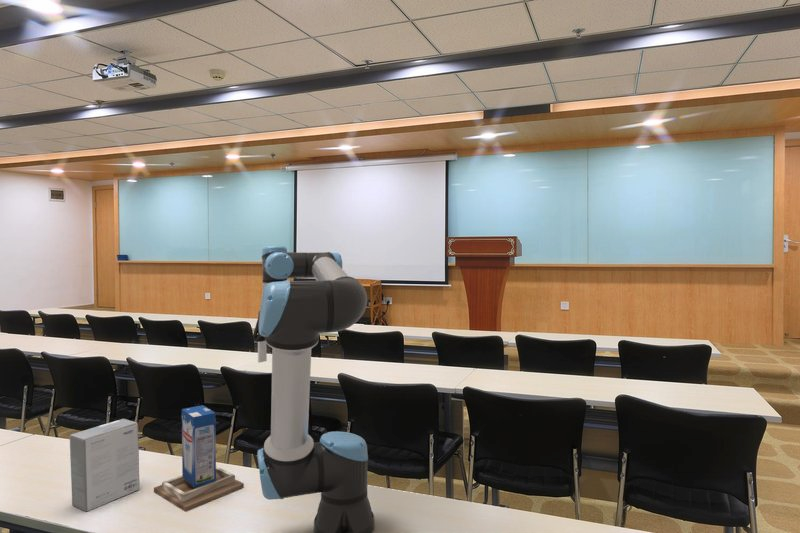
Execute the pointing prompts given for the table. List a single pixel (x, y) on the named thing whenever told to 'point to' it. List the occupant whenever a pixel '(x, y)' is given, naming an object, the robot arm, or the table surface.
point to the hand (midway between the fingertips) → (275, 364)
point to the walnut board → (197, 490)
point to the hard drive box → (104, 463)
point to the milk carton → (198, 445)
